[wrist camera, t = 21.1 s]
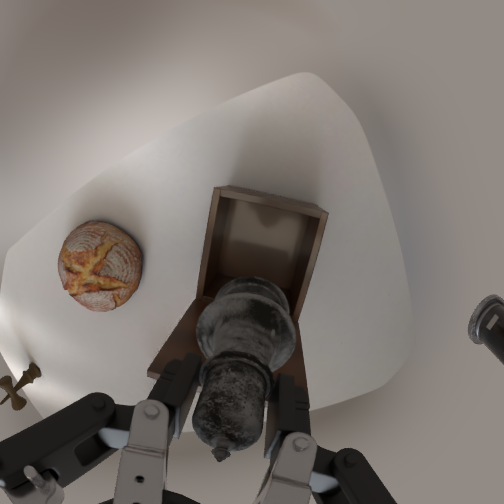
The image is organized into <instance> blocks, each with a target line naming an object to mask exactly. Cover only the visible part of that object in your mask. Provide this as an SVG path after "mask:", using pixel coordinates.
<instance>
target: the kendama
mask: <svg viewBox="0 0 504 504" xmlns="http://www.w3.org/2000/svg"><path fill="white" fill-rule="evenodd" d="M37 377H41V373H40V371H39V369H38V368H37V367H36V366H35V365H34V364H32V363H31V364H29V369H28V370H27V371H23V376H22V377H21V379H20V380H19V382H18V383H17V384H16V386H15V387H14V388H13V385H12V378H11V377H10V376H4V377H2V378H1V379H0V387H1V388H2V389H4V390H5V391H6V392H7V393H8V395H7V396H6V397H5V398H4V399H3V400H2V401H1V403H0V405H2V404H3V403H4V402H5V401H6V400H7V399H9V398H11V402H12V408H13V409H14V410H21V409H22V408H23V407H24V406H25V405H26V403H27V401H26V399H24V398H23V397H21V396H19V395H18V394H17V393H16V392H17V391H18V390H19V389H20V388H22V387H23V386H25V385H26V384H28V383H33V380H34V379H35V378H37Z"/></svg>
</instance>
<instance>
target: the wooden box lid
mask: <svg viewBox="0 0 504 504" xmlns="http://www.w3.org/2000/svg"><path fill="white" fill-rule="evenodd" d="M209 304H210V303H209V302H205V301H201V300H197V299H195V300H194V301H193V302H192V304H191V305H190V307H189V308H188V310H187V311H186V313H185V314H184V316H183V317H182V319H181V320H180V322H179V323H178V325H177V326H176V328H175V329H174V331H173V332H172V333H171V335H170V336H169V338H168V339H167V341H166V342H165V344H164V345H163V347H162V348H161V350H160V351H159V353H158V354H157V356H156V357H155V359H154V361H153V362H152V364H151V365H150V367H149V368H148V370H147V377H150V378H153V379H156V380H158V378H159V377H160V375H161V373H162V372H163V369H164V368H165V366H166V364H167V363H168V362H170V361H171V360H173V359H174V358H176V359H179V360H183V359H184V357H185V355H186V354H187V352H188V351H189V352H192V353H196V354H200V355H203V361H202V364H203V363H204V362H205V360H206V359H207V358H206V357H205V355H204V354H203V352H202V351H201V349H200V347H199V344H198V341H197V338H196V327H197V323H198V320H199V317H200V315H201V314H202V312H203V311H204V309H205V308H206V307H207V306H208V305H209ZM292 322H293V324H294V326H295V331H296V344H295V349H294V351H293V353H292V355H291V357H290V359H289V360H288V361H287V362H286V363H285V364H284V365H283V366H282V367H280V368H279V369H277V370H275V371H274V372H272V373H273V375H274V380H276V377H277V374H278V373H279V372H280V373H285V374H291V375H294V381H295V386H301V387H303V388H304V390H305V392H306V393H307V396H308V407H309V408H310V404H309V395H308V388H307V380H306V372H305V365H304V357H303V350H302V343H301V336H300V330H299V323H298V322H294V321H292ZM201 391H202V386H201V383H200V381H199V385H198V388H197V391H196V392H199V393H201ZM199 396H200V395H199ZM268 401H269V398H267V399H266V400H265V407H268Z"/></svg>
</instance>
